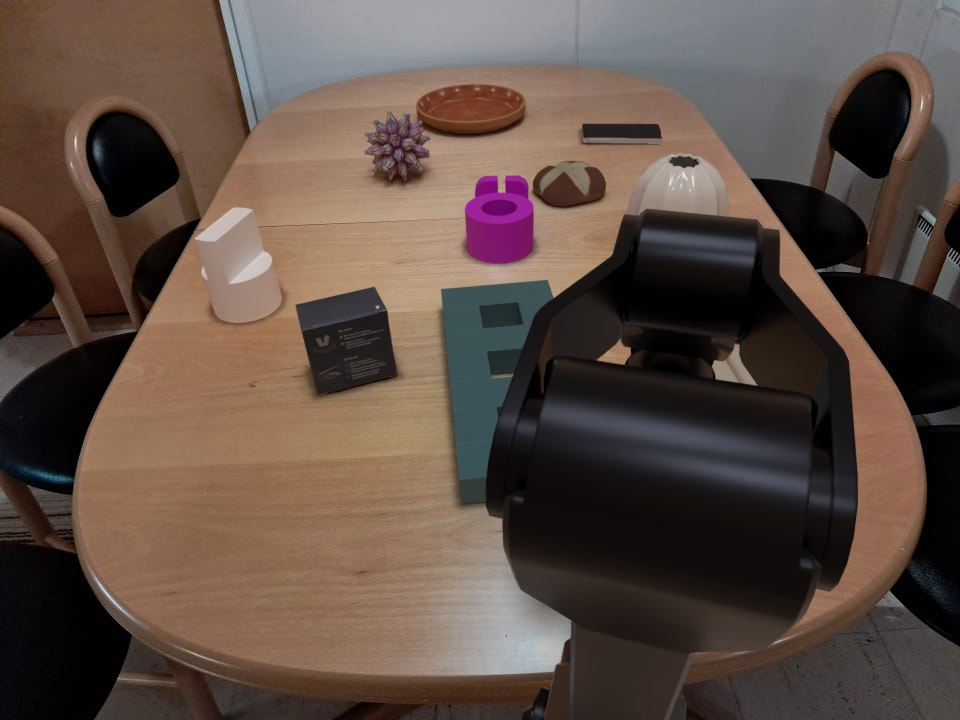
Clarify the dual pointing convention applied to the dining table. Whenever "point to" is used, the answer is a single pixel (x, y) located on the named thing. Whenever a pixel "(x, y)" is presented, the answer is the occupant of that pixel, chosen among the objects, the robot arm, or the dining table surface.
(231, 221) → the base with upright slab
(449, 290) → the teal three-hole plate
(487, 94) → the saucer
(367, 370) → the box
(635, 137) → the smartphone
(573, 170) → the bread
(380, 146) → the flower
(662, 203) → the vase
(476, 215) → the magenta slotted-back ring holder
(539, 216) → the dining table surface
